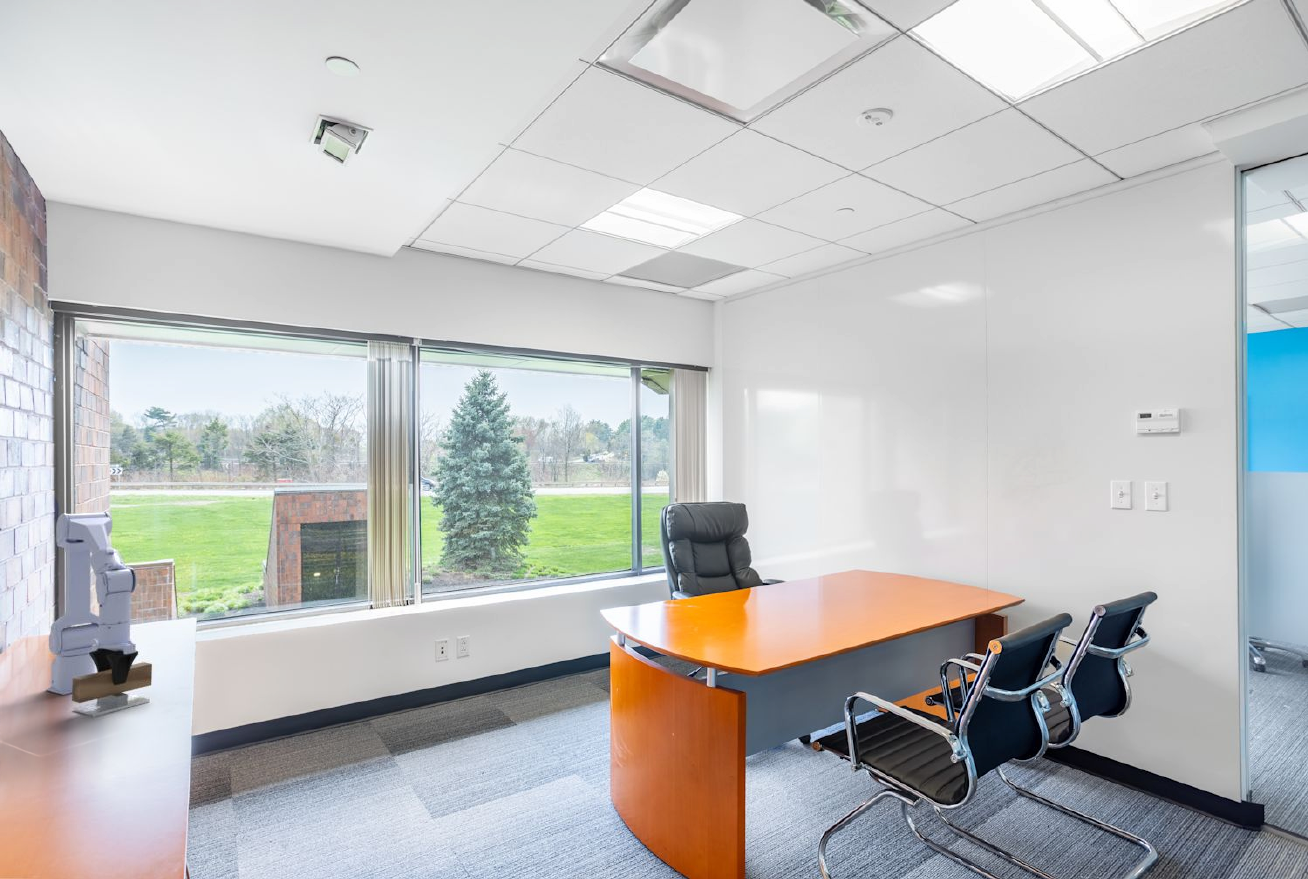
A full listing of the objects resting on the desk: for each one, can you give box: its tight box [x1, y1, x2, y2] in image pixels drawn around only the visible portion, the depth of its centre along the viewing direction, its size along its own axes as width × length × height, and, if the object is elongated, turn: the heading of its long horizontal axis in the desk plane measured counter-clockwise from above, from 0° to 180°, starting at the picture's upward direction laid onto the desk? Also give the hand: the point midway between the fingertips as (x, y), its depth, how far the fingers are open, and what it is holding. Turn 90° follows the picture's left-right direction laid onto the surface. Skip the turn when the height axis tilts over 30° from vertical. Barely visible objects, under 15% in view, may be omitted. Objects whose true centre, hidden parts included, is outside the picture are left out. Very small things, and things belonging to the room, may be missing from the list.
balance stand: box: [72, 692, 151, 718], centre depth 155 cm, size 9×11×3 cm
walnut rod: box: [71, 661, 153, 704], centre depth 155 cm, size 4×14×5 cm, turn 153°
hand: (112, 682), depth 155 cm, fingers open, 5 cm apart
